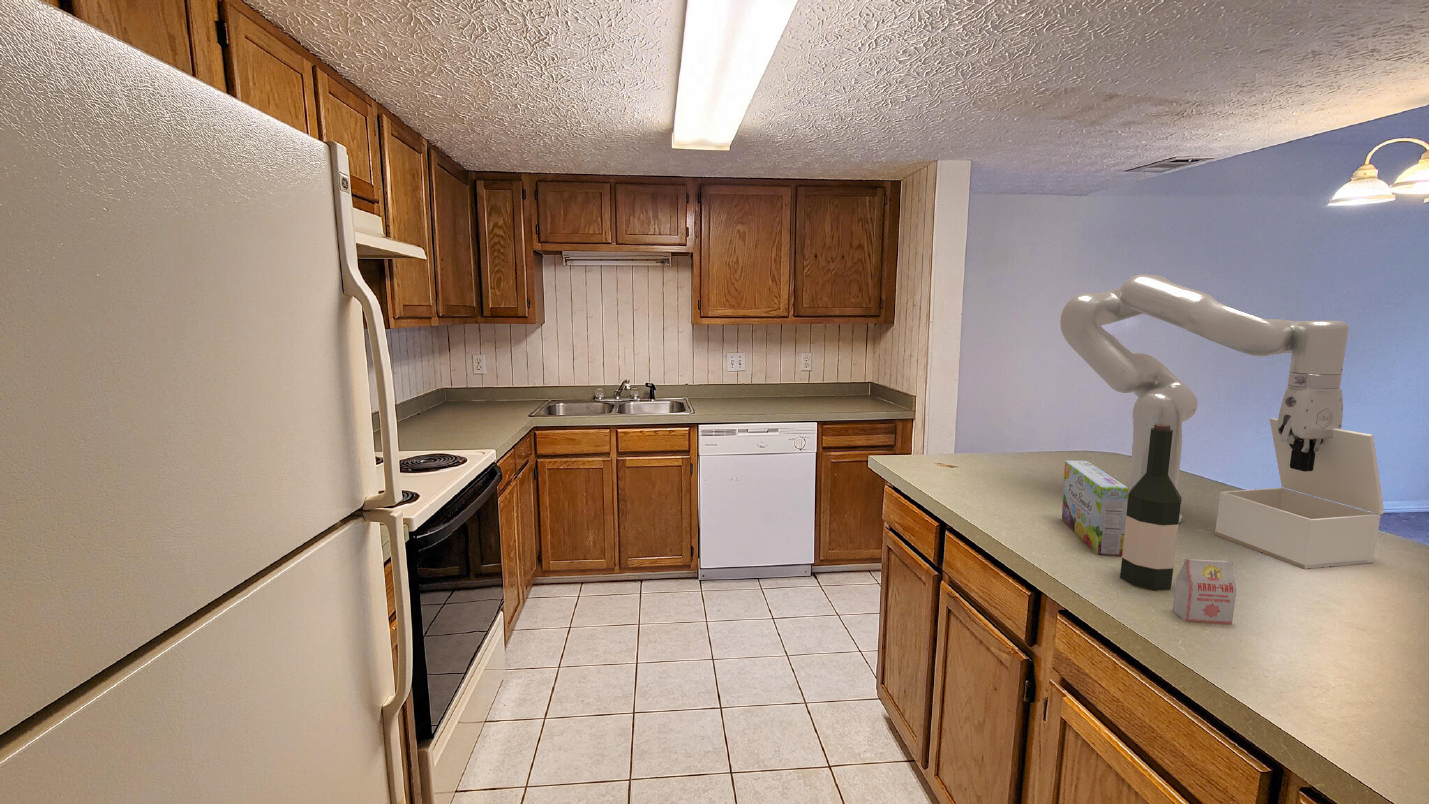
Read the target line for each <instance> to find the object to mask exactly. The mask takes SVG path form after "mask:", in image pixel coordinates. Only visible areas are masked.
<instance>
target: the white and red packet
mask: <svg viewBox="0 0 1429 804" xmlns="http://www.w3.org/2000/svg"><path fill="white" fill-rule="evenodd" d="M1235 579H1236V578H1235V573H1234V562H1232V561H1229V560H1228V561H1227V560H1208V559H1207V560H1206V559H1193V558H1192V559H1191V558H1189V559H1188V558H1184V562H1183V564H1182V566H1181V568H1180V570H1179V572H1178V574H1177V576H1176V578H1175V585H1174V593H1173V602H1172V611H1173V612H1175V614H1176V615H1177V616H1179V617H1180V618H1181V619H1182V620H1184V622H1192V623H1194V622H1195V623H1207V624H1208V623H1209V624H1218V625H1219V624H1220V625H1233V621H1234V620H1233V619H1234V611H1235V606H1236V596H1237V583H1236V580H1235Z"/></svg>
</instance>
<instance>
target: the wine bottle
mask: <svg viewBox="0 0 1429 804" xmlns="http://www.w3.org/2000/svg"><path fill="white" fill-rule="evenodd" d="M1170 426H1171V425H1167V424H1154V428H1151V433H1150V443H1149V452H1148V461H1147V471H1146V473H1145V475H1144V476H1143V477H1142V478H1141V479H1140V480H1139V481H1138V482H1137V483H1136V484H1135V485H1134V487H1133V488H1132V489H1131V490H1130V492H1129V494H1128V504H1127V514H1126V524H1125V534H1124V543H1123V553H1122V556H1121V564H1120V575H1119V579H1121V580H1123V581H1124V582H1125V583H1128V584H1129V585H1131V586H1133V587H1137V588H1141V589H1145V590H1149V591H1153V592H1157V591H1170V590H1171V589H1172V584H1173V583H1172V582H1173V574H1174V567H1175V559H1176V549H1177V541H1178V532H1179V524H1180V523H1179V516H1180V514H1181V507H1182V496H1181V494H1180V493H1179V491H1178V488H1177V489H1176V487H1175V486H1174V484H1173V482H1172V481H1171V479H1170V477H1169V475H1168V471H1169V462H1170V453H1171V444H1172V435H1173V430H1171V429H1170Z"/></svg>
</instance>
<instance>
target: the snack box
mask: <svg viewBox="0 0 1429 804" xmlns="http://www.w3.org/2000/svg"><path fill="white" fill-rule="evenodd" d="M1063 469H1064V472H1063V492H1062V509H1061V511H1062V512H1061V520H1062V521H1063V522H1064V523H1065V524H1066V525H1067V526H1068V527H1069V528H1070V529H1071V530H1072V531H1073V532H1074V533H1075V534H1076V535H1077V536H1078V537H1079V538H1080V539H1081V540H1082V541H1083V543H1085V544H1086V545H1087V546H1088V547H1089V549H1090V550H1092V552H1094V554H1096V555H1098V556H1101V555H1102V556H1119V557H1120V556H1121V557H1122V553H1123V543H1124V534H1125V524H1126V512H1127V501H1128V489H1129V488H1128V487H1129V486H1126V485H1125V484H1123V483H1121V482H1120V481H1118V480H1117V479H1116V478H1114V477H1112V476H1111V475H1110V474H1108V473H1106V472H1105V471H1103V470H1102V469H1100V468H1098V466H1096V465H1094V464H1093V463H1091V462H1089V460H1064V468H1063Z"/></svg>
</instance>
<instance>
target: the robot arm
mask: <svg viewBox="0 0 1429 804" xmlns="http://www.w3.org/2000/svg"><path fill="white" fill-rule="evenodd" d="M1140 315H1147V316H1149V317H1152V318H1155V319H1156V320H1157V319H1158V320H1161V321H1163V322H1166V323H1168V324H1171V325H1174V326H1176V327H1178V328H1181V329H1183V330H1186V331H1187V332H1190V333H1192V334H1195V335H1197V336H1199V337H1201V338H1204V339H1207V340H1209V341H1211V342H1212V343H1216V344H1218V345H1221V346H1224V347H1226V348H1229V349H1232V350H1233V351H1237V352H1240V353H1243V354H1246V355H1248V356H1251V357H1252V356H1253V357H1269V356H1273V355H1278V354H1281V355H1282V354H1291V357H1290V363H1289V364H1290V365H1289V371H1288V379H1287V385H1286V386H1287V387H1286V389H1285V392H1284V395H1283V398H1282V401H1281V404H1280V409H1279V413H1278V417H1277V418H1278V425H1277V430H1278V433H1279V434H1281V438H1280V441H1281V442H1284V443H1288V444H1289V445H1290V449H1291V450H1292V453H1291V460H1290V468H1292V469H1296V470H1300V471H1304V472H1306V471H1313V468H1314V461H1315V454H1316V453H1315V452H1318V450H1319V447H1320V445H1321V444H1322V443H1323V439H1322V438H1332V437H1333V432H1332V430H1333V429H1335V428H1337V429H1342V428H1343V427H1342V425H1343V417H1344V415H1343V414H1344V413H1343V412H1344V411H1343V410H1344V398H1343V391H1342V389H1340V388H1341V381H1342V377H1343V369H1344V362H1345V357H1346V356H1345V355H1346V350H1347V344H1348V343H1347V342H1348V337H1349V325H1348V324H1347V323H1346V322H1345V321H1343V320H1324V319H1323V320H1321V319H1320V320H1305V321H1304V320H1303V321H1300V320H1299V321H1298V320H1291V319H1290V320H1287V319H1280V318H1267V319H1266V318H1261V317H1259V316H1256V315H1252V314H1250V313H1247V312H1243V311H1241V310H1238V309H1235V308H1232V307H1229V306H1227V305H1225V304H1223V303H1221V302H1219V301H1217V299H1216V298H1214V297H1213V296H1212V295H1210V294H1209V293H1206V292H1203V291H1200V290H1197V289H1193V288H1190V287H1187V286H1184V285H1181V284H1178V283H1175V282H1173V281H1170V280H1169V279H1168V278H1167V277H1164V276H1162V275H1159V274H1149V273H1148V274H1146V273H1144V274H1143V273H1142V274H1137V275H1133V276H1131V277H1130V278H1128V279H1126V281H1124V283H1122V285H1121V286H1118V287H1115V288H1113V289H1110V290H1106V291H1103V292H1082V293H1080V294H1076V295H1075V296H1073V297H1071V298H1070V299H1069V300H1068V301H1067V302H1066V304H1064V307H1063V308H1062V311H1061V315H1060V321H1059V323H1060V329H1061V330H1060V331H1061V333H1062V336H1063V337H1064V340H1065V341H1066V342H1067V344H1068V345H1069V346H1070V347H1071V348H1072V350H1073V351H1075V352H1076V353H1077V354H1078V355H1079V356H1080V357H1081V358H1082V359H1083V360H1084V362H1085V363H1086V364H1088V366H1089V367H1090V368H1091V369H1092V370H1093V371H1094V372H1096V374H1098V375H1099V377H1100V378H1101V379H1102V380H1103V381H1104V382H1105V383H1106V384H1107V385H1108V386H1109V387H1110V388H1111V389H1112V390H1114V391H1116V392H1117V393H1118V392H1119V393H1120V394H1129V393H1133V394H1134V395H1136V397H1137V399H1136V400H1135V402H1134V405H1133V407H1132V425H1133V426H1132V427H1133V429H1132V432H1133V433H1132V447H1131V459H1130V467H1129V468H1130V469H1129V477H1128V478H1129V479H1128V486H1127V487H1128V488H1129V489H1128V494H1129V492H1130V490H1131V489H1132V488H1133V487H1134V485H1135V484H1136V483H1137V482H1138V481H1139V480H1140V479H1141V478H1142V477H1143V476H1144V475H1145V473H1146V471H1147V461H1148V452H1149V443H1150V433H1151V428H1154V424H1167V425H1171V426H1170V429H1171V430H1173V435H1172V444H1171V453H1170V462H1169V471H1168V475H1169V477H1170V479H1171V481H1172V482H1173V484H1174V486H1175V487H1176V489H1177V490H1178V485H1179V474H1180V467H1181V459H1182V450H1183V449H1182V448H1183V447H1182V446H1183V429H1182V428H1183V423H1184V422H1186V421H1188V420H1190V419H1191V418H1192V417H1194V416H1195V414H1196V412H1197V410H1198V406H1199V404H1198V403H1199V402H1198V399H1197V397H1196V394H1195V393H1194V391H1193V390H1192V389H1190V387H1188V386H1187V385H1186V384H1185V383H1184V382H1183V381H1182V380H1181V379H1180V378H1179V377H1178V376H1176V375H1175V374H1174V372H1172V371H1171V370H1170V369H1169V368H1168V367H1167V366H1165V364H1164V363H1162V362H1161V361H1160V360H1158V359H1157V358H1155V357H1154V356H1152V355H1150V354H1147V353H1140V352H1138V353H1137V352H1136V353H1133V352H1132V351H1131V350H1129V349H1128V348H1127V347H1126V346H1124V345H1123V343H1121V342H1120V341H1119V340H1118V339H1117V338H1116V337H1115V336H1114V335H1112V334H1111V333H1110V332H1108V331H1107V330H1106V329H1105V328H1103V326H1105V325H1111V324H1114V323H1117V322H1120V321H1123V320H1126V319H1130V318H1133V317H1136V316H1140ZM1300 440H1301V441H1300ZM1127 504H1128V501H1127ZM1126 514H1127V512H1126ZM1182 521H1183V515H1182V514H1181V513H1180V516H1179V524H1180V523H1181V522H1182Z"/></svg>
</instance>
